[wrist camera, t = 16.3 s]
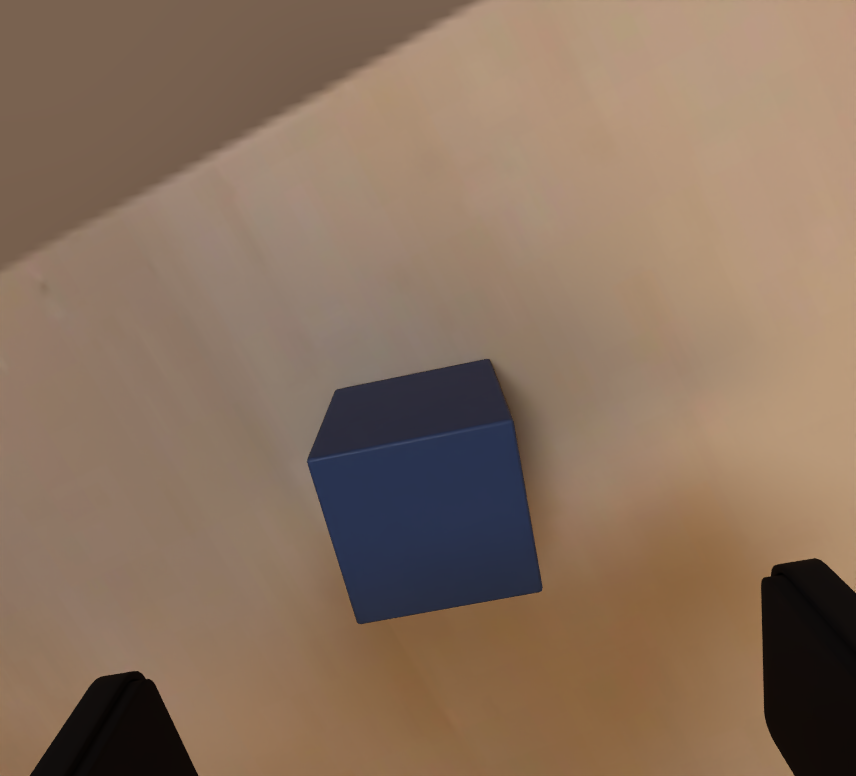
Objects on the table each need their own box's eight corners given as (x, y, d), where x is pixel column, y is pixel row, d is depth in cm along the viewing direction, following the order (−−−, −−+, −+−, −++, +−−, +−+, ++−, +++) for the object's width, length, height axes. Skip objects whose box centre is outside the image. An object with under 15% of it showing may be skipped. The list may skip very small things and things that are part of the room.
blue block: (372, 522, 18) (357, 626, 14) (334, 389, 17) (305, 460, 13) (514, 495, 18) (543, 593, 14) (489, 357, 16) (513, 419, 12)
